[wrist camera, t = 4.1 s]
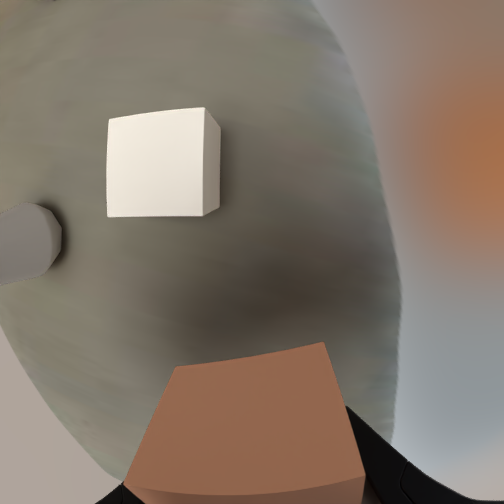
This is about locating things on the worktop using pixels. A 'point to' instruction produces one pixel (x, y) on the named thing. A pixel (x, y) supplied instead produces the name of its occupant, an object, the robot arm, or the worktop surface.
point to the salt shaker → (27, 242)
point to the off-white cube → (163, 164)
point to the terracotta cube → (251, 435)
